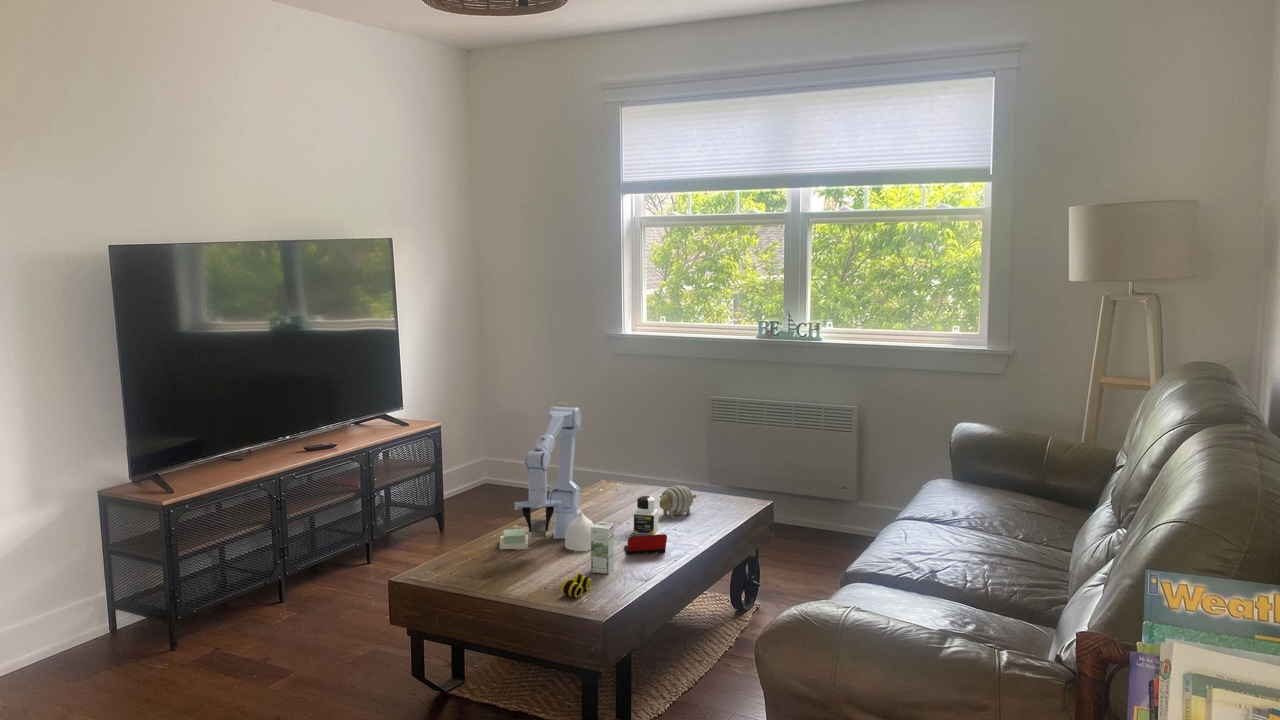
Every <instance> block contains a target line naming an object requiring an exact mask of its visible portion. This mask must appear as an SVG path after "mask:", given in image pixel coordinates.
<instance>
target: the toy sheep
mask: <svg viewBox="0 0 1280 720" xmlns="http://www.w3.org/2000/svg"><path fill="white" fill-rule="evenodd" d="M659 498H660V499H659V504H658V505H659V507H660V509H662V510H663V512H662V513H663V514H662V515H663V516H664V517H667V514H668V513H669V514H670V518H671V519H672V518H674V519H675V515H676V516H679V515H683V514H685V513H686V516H689V515H690V513H691V509H690V508H691V506H692V505H693V502H694V499H696V498H697V494H695V493H692V490H691V489H689V487H688V486H685V485H684V486H683V485H672V486H671V487H668V488H666V489H665V490H664V491H662V493H661V495H660V496H659Z"/></svg>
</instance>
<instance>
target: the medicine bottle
mask: <svg viewBox="0 0 1280 720" xmlns="http://www.w3.org/2000/svg"><path fill="white" fill-rule="evenodd" d="M636 505H637V507H636V508H637V510H635V512H634V513H633V533H634V534H638V535H656V534H655V533H657V531H658V529H659V509H658V508H656V506H655V505H656V499H655V498H654V497H653V496H650V495H644V496H643V495H642V496H640V497H637V500H636Z"/></svg>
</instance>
